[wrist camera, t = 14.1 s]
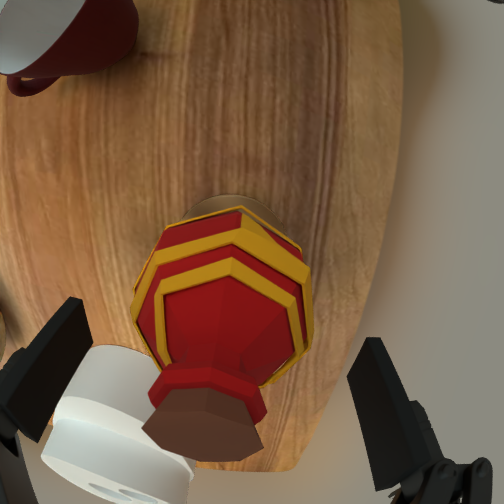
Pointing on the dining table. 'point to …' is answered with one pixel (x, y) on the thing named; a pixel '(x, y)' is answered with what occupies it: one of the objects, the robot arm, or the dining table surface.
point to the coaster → (236, 200)
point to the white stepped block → (114, 433)
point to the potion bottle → (219, 330)
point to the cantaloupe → (2, 336)
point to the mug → (62, 39)
